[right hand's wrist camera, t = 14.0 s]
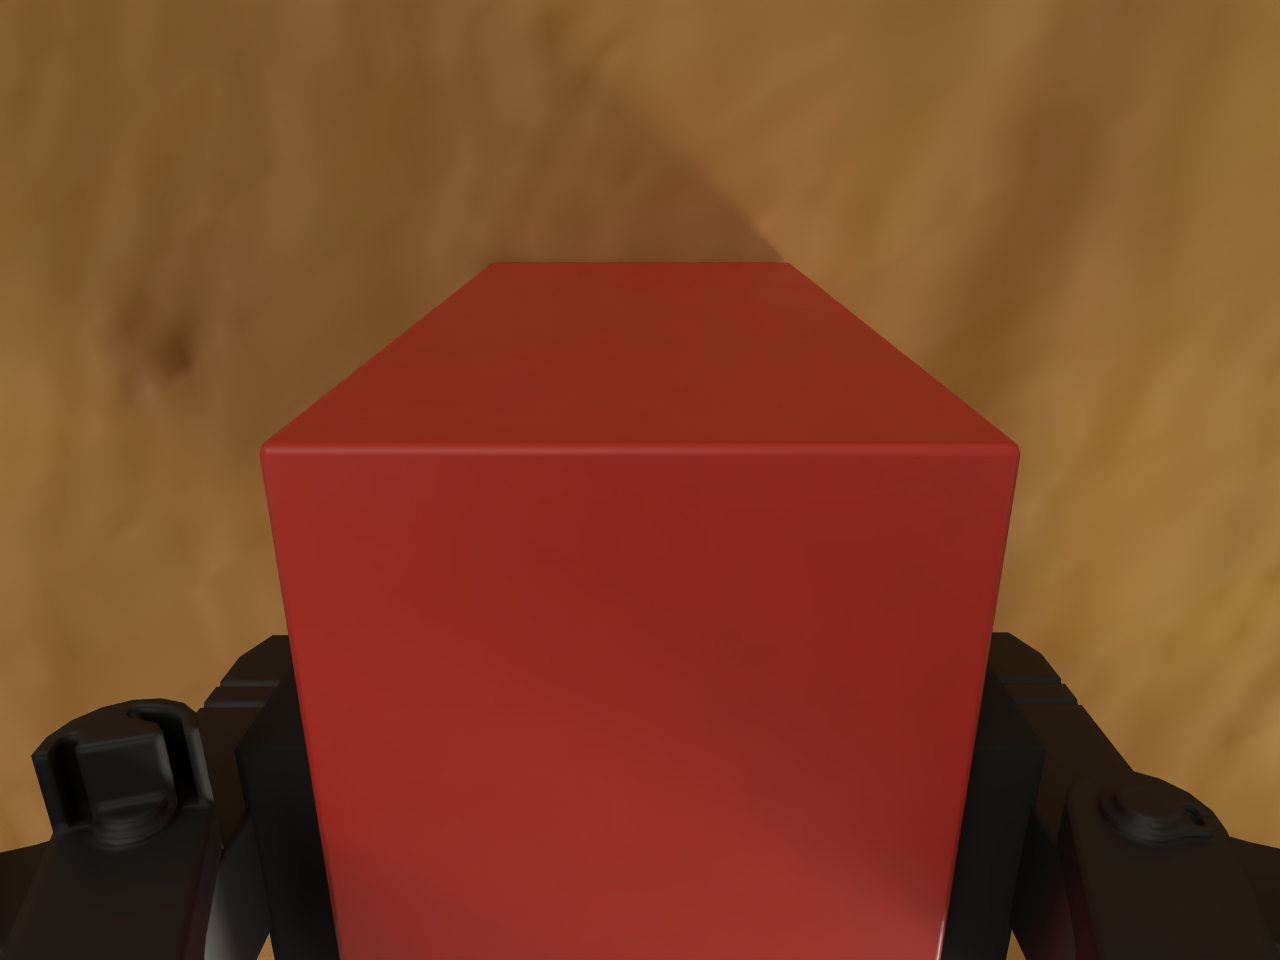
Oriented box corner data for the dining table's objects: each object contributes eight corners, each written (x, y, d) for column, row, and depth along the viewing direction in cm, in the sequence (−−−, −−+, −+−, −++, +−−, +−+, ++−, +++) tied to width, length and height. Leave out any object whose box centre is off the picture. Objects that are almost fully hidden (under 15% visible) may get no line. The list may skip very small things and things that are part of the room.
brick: (490, 261, 17) (253, 445, 7) (791, 261, 17) (1025, 445, 7) (512, 652, 20) (375, 1199, 10) (768, 652, 20) (905, 1199, 10)
